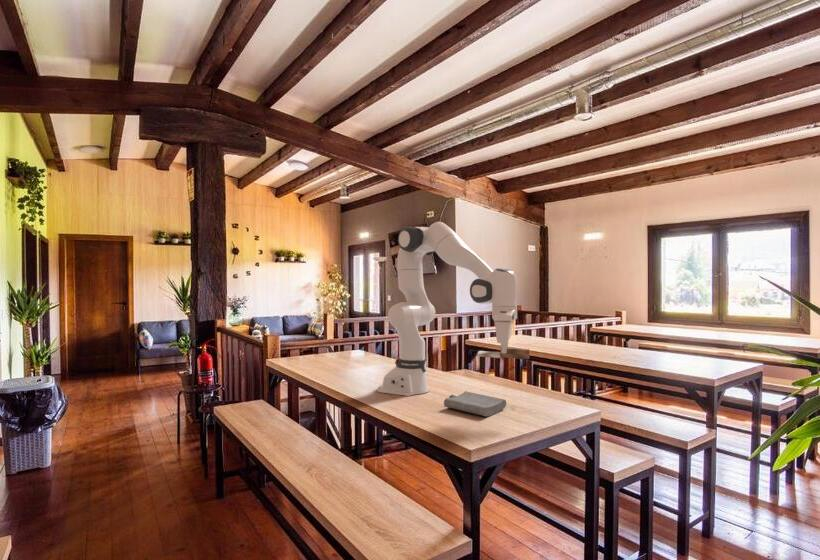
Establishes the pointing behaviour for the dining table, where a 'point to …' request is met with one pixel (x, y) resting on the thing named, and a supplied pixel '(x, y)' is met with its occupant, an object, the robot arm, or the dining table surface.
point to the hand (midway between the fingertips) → (504, 352)
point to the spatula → (510, 353)
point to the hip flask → (475, 403)
